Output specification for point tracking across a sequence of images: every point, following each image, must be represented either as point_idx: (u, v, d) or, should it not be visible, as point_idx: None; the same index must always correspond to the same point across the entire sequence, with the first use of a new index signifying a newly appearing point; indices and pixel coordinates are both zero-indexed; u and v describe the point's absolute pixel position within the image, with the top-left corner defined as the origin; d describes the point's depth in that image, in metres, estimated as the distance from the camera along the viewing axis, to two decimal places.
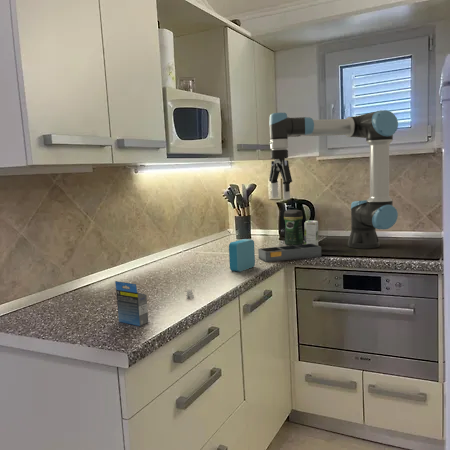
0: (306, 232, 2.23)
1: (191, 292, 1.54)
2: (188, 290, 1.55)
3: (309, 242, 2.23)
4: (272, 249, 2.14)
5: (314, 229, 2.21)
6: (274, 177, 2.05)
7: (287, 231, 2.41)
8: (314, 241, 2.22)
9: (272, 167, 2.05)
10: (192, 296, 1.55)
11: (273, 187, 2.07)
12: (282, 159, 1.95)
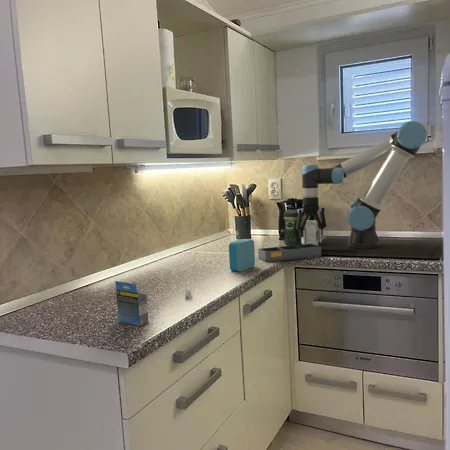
0: (305, 232, 2.23)
1: (190, 292, 1.54)
2: (187, 290, 1.55)
3: (309, 242, 2.23)
4: (272, 249, 2.14)
5: (314, 229, 2.21)
6: None
7: (287, 231, 2.41)
8: (314, 241, 2.22)
9: None
10: (191, 296, 1.54)
11: None
12: None
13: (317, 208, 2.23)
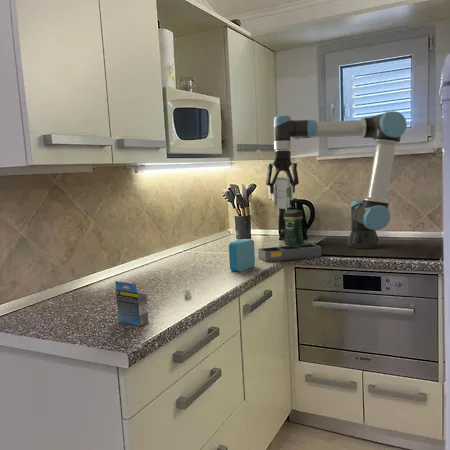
0: (276, 188, 2.10)
1: (189, 292, 1.54)
2: (186, 290, 1.55)
3: (279, 199, 2.10)
4: (272, 249, 2.14)
5: (285, 185, 2.08)
6: None
7: (287, 231, 2.41)
8: (285, 198, 2.09)
9: (292, 168, 2.12)
10: (190, 296, 1.54)
11: None
12: None
13: (289, 163, 2.09)
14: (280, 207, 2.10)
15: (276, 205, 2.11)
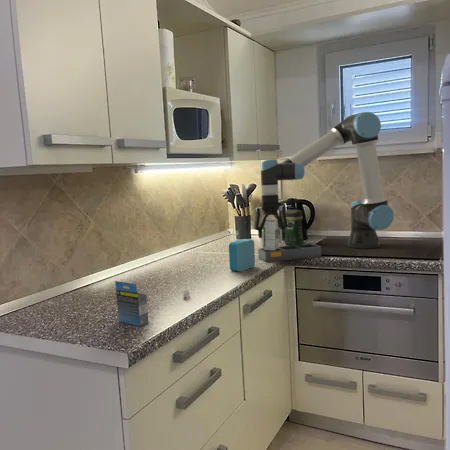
0: (264, 230, 2.06)
1: (188, 292, 1.54)
2: (185, 290, 1.55)
3: (268, 241, 2.06)
4: None
5: (273, 227, 2.05)
6: None
7: (287, 231, 2.41)
8: (273, 240, 2.05)
9: (280, 211, 2.09)
10: (189, 296, 1.54)
11: None
12: None
13: (277, 207, 2.06)
14: (269, 249, 2.07)
15: (265, 247, 2.07)
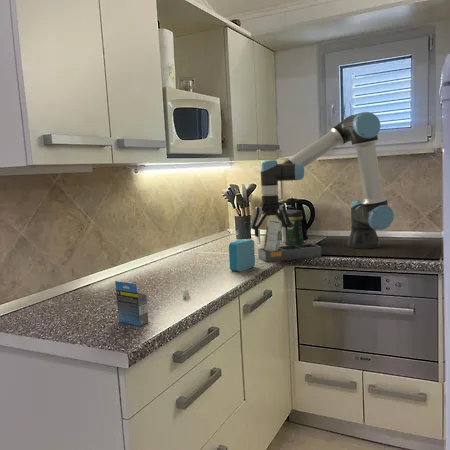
0: (267, 230, 2.07)
1: (187, 292, 1.54)
2: (184, 290, 1.55)
3: (269, 241, 2.07)
4: None
5: (277, 228, 2.05)
6: None
7: (287, 231, 2.41)
8: (275, 241, 2.06)
9: None
10: (188, 296, 1.54)
11: (282, 231, 2.10)
12: None
13: (277, 207, 2.06)
14: (269, 249, 2.07)
15: (265, 247, 2.07)
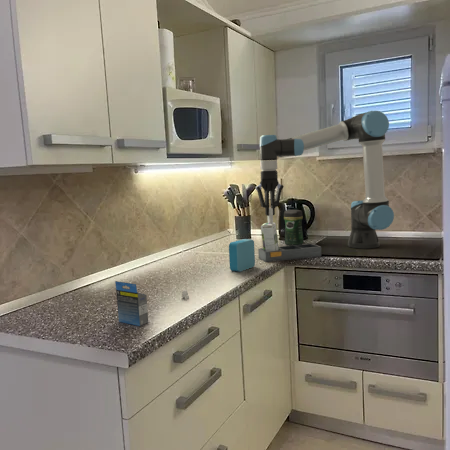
0: (263, 237, 2.06)
1: (186, 293, 1.54)
2: (183, 291, 1.55)
3: (268, 247, 2.06)
4: None
5: (271, 232, 2.05)
6: (270, 200, 2.07)
7: (287, 231, 2.41)
8: (273, 245, 2.06)
9: (277, 190, 2.08)
10: (187, 297, 1.54)
11: None
12: None
13: (276, 183, 2.05)
14: None
15: None
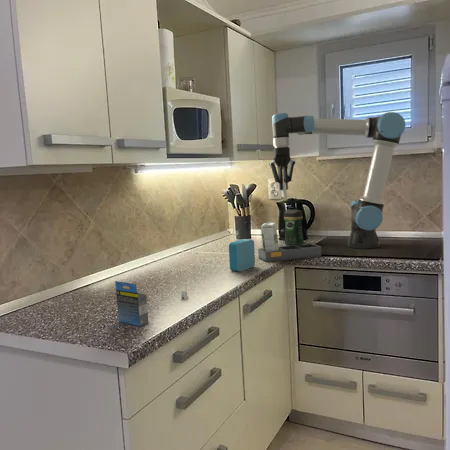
0: (263, 237, 2.06)
1: (185, 293, 1.54)
2: (182, 291, 1.54)
3: (268, 247, 2.06)
4: None
5: (271, 232, 2.05)
6: (283, 175, 2.19)
7: (287, 231, 2.41)
8: (273, 245, 2.06)
9: (289, 165, 2.20)
10: (187, 297, 1.54)
11: None
12: None
13: (288, 159, 2.17)
14: None
15: None
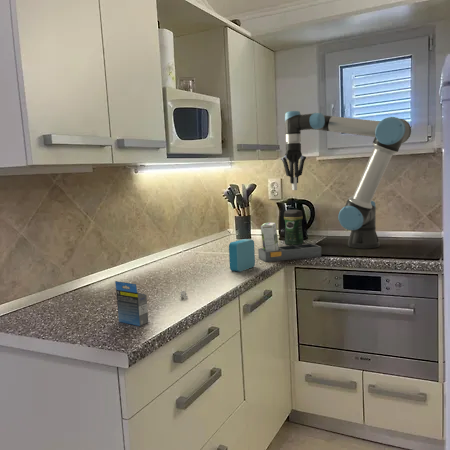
0: (263, 237, 2.06)
1: (185, 293, 1.54)
2: (182, 291, 1.54)
3: (268, 247, 2.06)
4: None
5: (271, 232, 2.05)
6: (294, 169, 2.32)
7: (287, 231, 2.41)
8: (273, 245, 2.06)
9: (300, 161, 2.33)
10: (186, 297, 1.54)
11: None
12: None
13: (299, 154, 2.30)
14: None
15: None
